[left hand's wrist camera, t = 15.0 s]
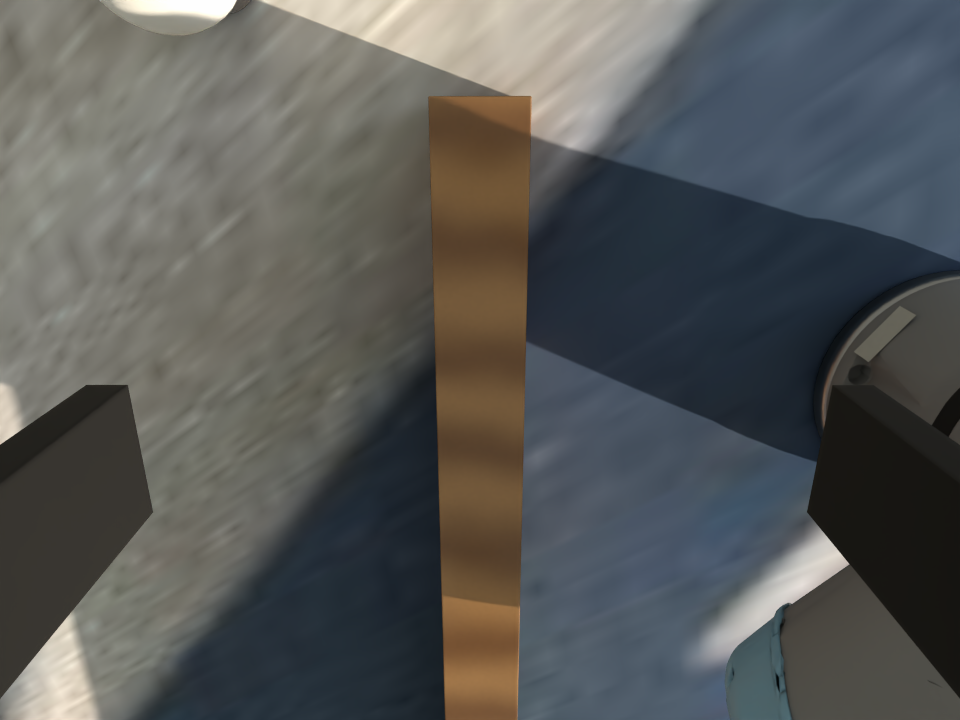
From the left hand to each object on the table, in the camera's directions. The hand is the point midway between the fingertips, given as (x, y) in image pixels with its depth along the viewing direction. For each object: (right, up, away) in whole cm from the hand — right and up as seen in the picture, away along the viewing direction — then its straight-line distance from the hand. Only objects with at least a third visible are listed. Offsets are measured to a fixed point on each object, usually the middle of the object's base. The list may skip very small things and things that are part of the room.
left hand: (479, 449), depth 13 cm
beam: (0, -17, +38) cm, 41 cm away
